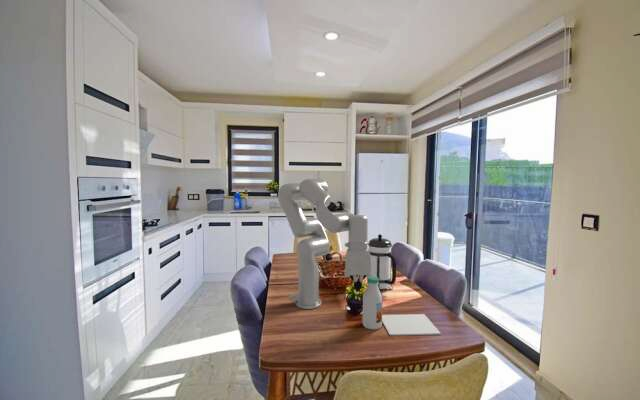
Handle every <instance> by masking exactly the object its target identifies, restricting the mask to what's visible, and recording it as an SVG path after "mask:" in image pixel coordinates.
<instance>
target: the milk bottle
mask: <svg viewBox="0 0 640 400" xmlns="http://www.w3.org/2000/svg"><path fill="white" fill-rule="evenodd" d="M378 282H379V279H378V277H374V276H370V277H366V286H367V287H365V288H366V289H365V291H364V293H363V297H362V325H363V327H364V328H365V329H368V330H374V331H375V330H379V329H381V328H382V325H383V322H382V315H383V297H382V294H381V293H382V292H381V291H380V289H379V288H378V284H379V283H378Z"/></svg>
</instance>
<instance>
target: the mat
mask: <svg viewBox="0 0 640 400" xmlns="http://www.w3.org/2000/svg"><path fill="white" fill-rule="evenodd" d="M382 325H383V326H384V327H385V329H386V331H387V332H388V335H389V337H390V336H391V337H392V336H424V335H425V336H428V335H432V336H433V335H434V336H435V335H437V336H438V335H442V333H441V332H440V331H439V329H438V328H437V327H436V326H435V325H434V323H433V322H432V321H431V320H430V319H429V318H428V317H427V315H426V314H425V313H423V314H422V313H421V314H420V313H419V314H418V313H417V314H414V313H412V314H411V313H410V314H409V313H408V314H382Z"/></svg>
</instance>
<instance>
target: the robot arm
mask: <svg viewBox="0 0 640 400" xmlns="http://www.w3.org/2000/svg"><path fill="white" fill-rule="evenodd" d="M328 190H329V186H328V184H327V182H326V181H325V180H323V179H322V178H321V179H320V178H307V179H304V180H302V181H301V182H297V183H296V182H292V183H291V182H290V183H285V184H282V185H281V186H280V187H279V188H278V192H277V193H278V194H277V198H278V203H279V205H280V208H281V209H282V210H283V213H284V214H285V217H286V219H287V222H288V225H289V227H290V230H291V232H292V235H293V236H294V237H295V238H297V239H302V238H304V239H302V240H299V241H298V243H297V244H296V247H295V251H296V256H297V261H298V262H297V264H298V265H297V266H298V267H297V268H298V293H297V294H295V295H294V294H290V295H289V296H288V300H291V302H293V301H294V305H295V306H296V307H298V308H299V309H303V310H312V309H317V308H319V307H321V306H322V300H321V298H319V266H318V263H317V261H316V258H319V257H324V256H325V255H327V254H328V253H330V250H331V242H330V240H329V238H328V235H327V233H326V231H328V232H330V233H331V234H332V233H333V234H337V233H343V232H348V242H346V243H345V242H344V247H345V248H347V249H346V252H345V261H344V270H345V271H344V274H343V275H344V277H345V278H350V279H351V280H352V282H353V289H354V290H355V292H356V293H361V290H362V287H363V281H364V280H365V279H367V278H368V277H370V276H371V257H370V250H369V248H368V229H369V227H368V224H369V223H368V217H367V216H366V215H363V214H354V213H351V212H344V213H343V212H342V213H333V212H331V211H330V210H329V208H328V207H329V206H330V204H331V201H332V198H331V197H332V196H331V195H330V194H329V193H328ZM303 200H307V201H308V202H309V203H310V204H311V205H312V206H313V207H314V208H315V217H314V216H309V217H307V216H306V215H305V214H304V212H303V209H302V207H301V206H300V205H299V204H298V203H297V202H296V201H303ZM325 229H326V231H325ZM357 276H358V279H357Z"/></svg>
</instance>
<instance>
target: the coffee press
mask: <svg viewBox="0 0 640 400" xmlns="http://www.w3.org/2000/svg"><path fill="white" fill-rule="evenodd" d="M392 246H393V244H392V242H391V240H389V239H387V238H383V235H382V234H378V236H377V237H375V238H371V239H370V240H369V241H368V242H367V247H368V249H369V250H370V257H371V276H374V277H378V279H379V282H378V283H379V284H378V288H379V290H384V289H387V288H388V289H389V290H390V291H393V289H394V286H393V285H394V284H395V283H396V280H397V279H396V278H397V262H396V258H395V256H394V255H393V253H392Z"/></svg>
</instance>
